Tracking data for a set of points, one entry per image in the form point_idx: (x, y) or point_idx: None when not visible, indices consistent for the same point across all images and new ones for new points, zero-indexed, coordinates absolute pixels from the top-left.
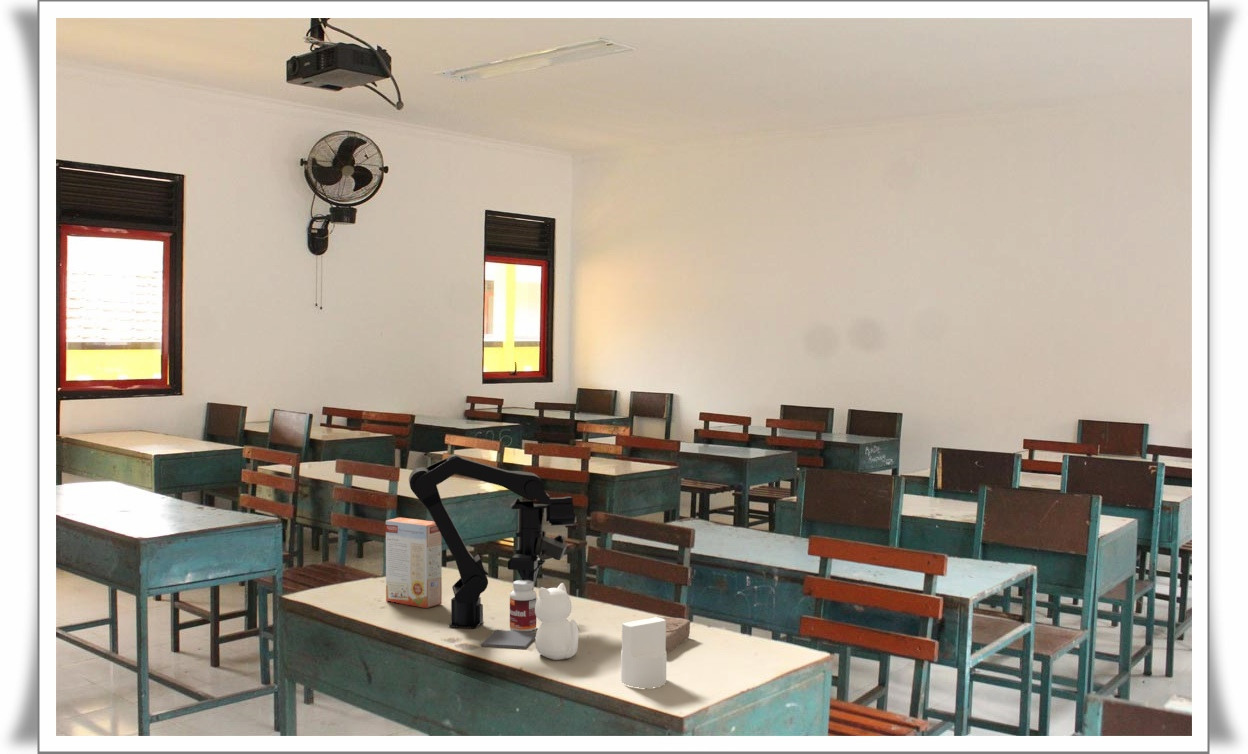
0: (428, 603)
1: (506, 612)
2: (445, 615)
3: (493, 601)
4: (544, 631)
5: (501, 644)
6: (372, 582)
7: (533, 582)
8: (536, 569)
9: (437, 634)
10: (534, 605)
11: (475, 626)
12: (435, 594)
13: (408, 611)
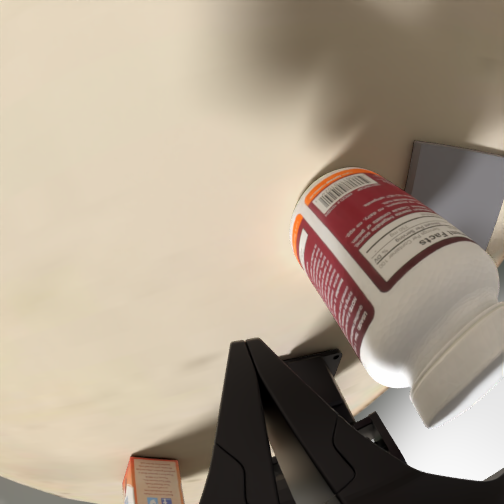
0: (174, 468)
1: (112, 352)
2: (212, 432)
3: (32, 401)
4: None
5: (494, 223)
6: (79, 497)
7: (309, 397)
8: (461, 482)
9: (372, 378)
10: (446, 220)
11: (339, 352)
12: (153, 480)
13: (204, 464)
